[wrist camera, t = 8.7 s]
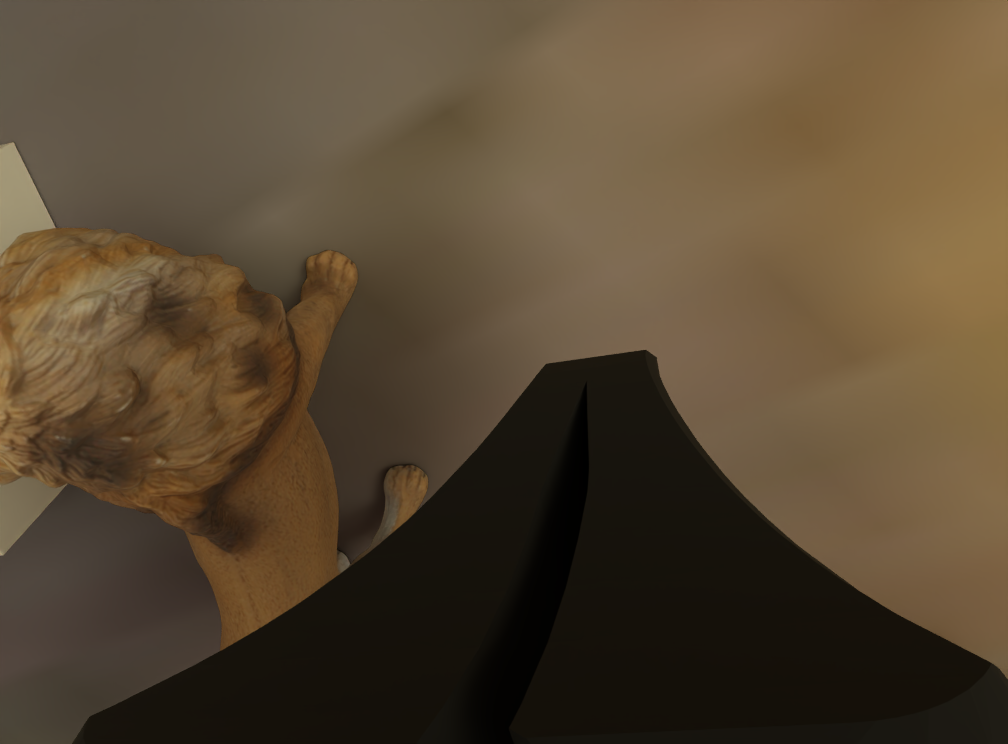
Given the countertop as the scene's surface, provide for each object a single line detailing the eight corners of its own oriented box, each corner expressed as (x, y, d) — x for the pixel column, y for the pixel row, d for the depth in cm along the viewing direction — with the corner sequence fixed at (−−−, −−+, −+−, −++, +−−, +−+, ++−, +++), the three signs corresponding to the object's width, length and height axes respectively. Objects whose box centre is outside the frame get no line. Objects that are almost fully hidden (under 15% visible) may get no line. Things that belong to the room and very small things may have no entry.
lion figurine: (87, 168, 21) (-242, 360, 13) (289, 95, 19) (55, 260, 11) (349, 625, 27) (234, 937, 19) (515, 596, 26) (463, 920, 18)
